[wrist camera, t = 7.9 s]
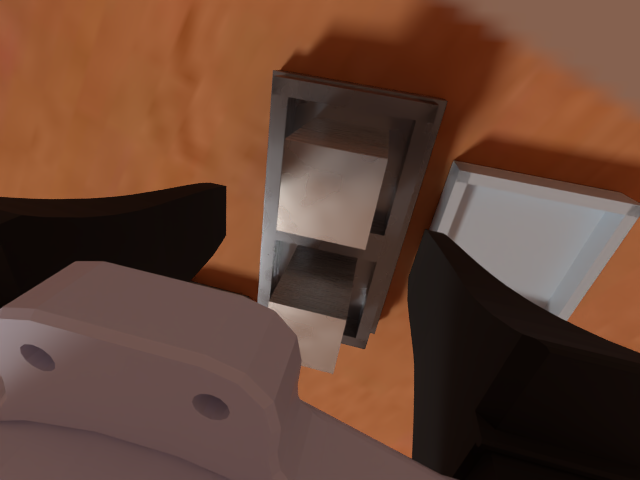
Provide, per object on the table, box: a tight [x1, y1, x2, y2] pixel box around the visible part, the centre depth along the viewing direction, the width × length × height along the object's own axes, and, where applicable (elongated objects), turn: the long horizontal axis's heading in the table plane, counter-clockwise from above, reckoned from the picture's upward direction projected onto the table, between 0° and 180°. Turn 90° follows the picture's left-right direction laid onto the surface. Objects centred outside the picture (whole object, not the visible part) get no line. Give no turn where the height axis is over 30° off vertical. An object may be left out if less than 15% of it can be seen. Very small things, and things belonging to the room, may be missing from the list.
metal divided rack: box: [257, 70, 447, 349], centre depth 20 cm, size 9×16×3 cm, turn 171°
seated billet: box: [268, 245, 357, 374], centre depth 20 cm, size 4×4×6 cm
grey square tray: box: [429, 160, 640, 321], centre depth 20 cm, size 9×9×2 cm
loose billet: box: [276, 117, 389, 250], centre depth 16 cm, size 4×4×6 cm
